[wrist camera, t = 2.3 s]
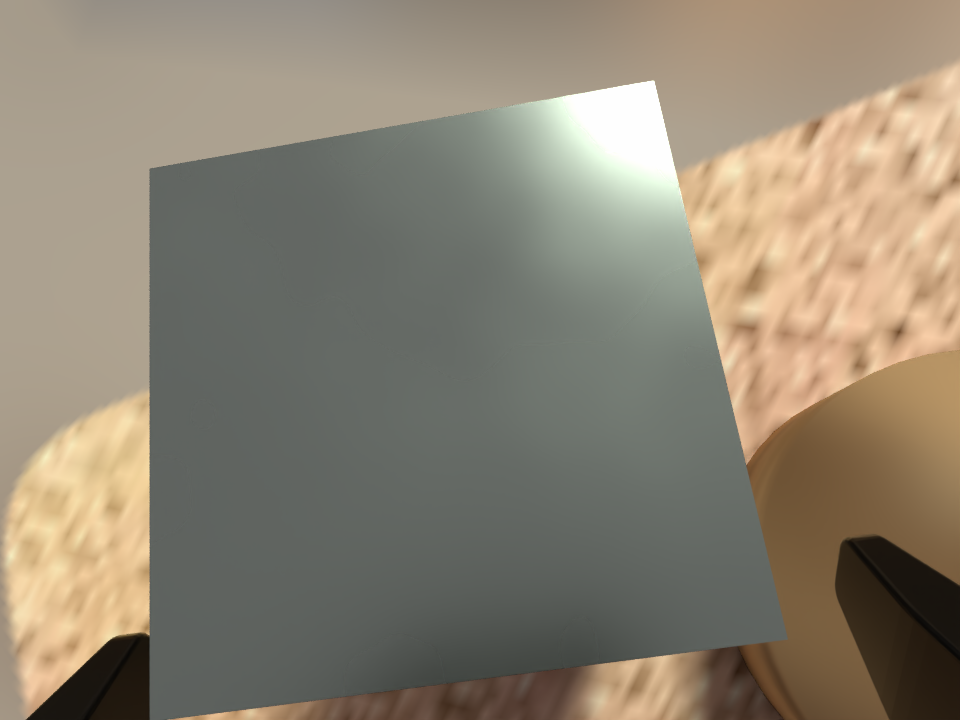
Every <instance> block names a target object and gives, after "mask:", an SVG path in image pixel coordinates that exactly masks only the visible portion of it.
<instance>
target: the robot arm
mask: <svg viewBox="0 0 960 720" xmlns="http://www.w3.org/2000/svg"><path fill="white" fill-rule="evenodd" d="M835 592H836V596H837V600H838V602H839V605H840V607H841V609H842V612H843V614H844V617H845V619H846V621H847V624H848V626H849V628H850V631H851V633H852V635H853V638H854V640H855V642H856V645H857V647H858V649H859V652H860V654H861V656H862V659H863V661H864V663H865V666H866V668H867V670H868V673H869V675H870V677H871V680H872V682H873V684H874V687H875V689H876V691H877V694H878V696H879V698H880V701H881V703H882V705H883V707H884V710H885V712H886V714H887V716H888V718H889V720H960V585H959V584H958V583H956V582H955V581H953V580H951V579H950V578H948V577H947V576H945V575H944V574H942V573H940V572H939V571H937V570H936V569H934V568H932V567H931V566H929V565H928V564H926V563H924V562H923V561H921V560H920V559H918V558H916V557H915V556H913V555H912V554H910V553H908V552H907V551H905V550H904V549H902V548H901V547H899V546H897V545H896V544H894V543H893V542H891V541H889V540H888V539H886V538H884V537H883V536H880V535H878V534H865V535H857V536H850V537H846V538H844V539H843V540H842V541H841V543H840V547H839V553H838V561H837V568H836V575H835ZM26 720H150V636H149V635H148V634H146V633H133V634H126V635H119V636H116V637H114V638H112V639H110V640H109V641H108V642H107V643H106V644H105V645H104V646H103V647H102V648H101V649H99V650H98V651H97V652H96V653H95V654H94V655H93V656H92V657H91V658H90V659H89V660H88V661H87V662H86V663H85V664H84V665H83V666H82V667H81V668H80V669H79V670H77V671H76V672H75V673H74V674H73V675H72V676H71V677H70V678H69V679H68V680H67V681H66V682H65V683H64V684H63V685H62V686H61V687H60V688H59V689H58V690H57V691H55V692H54V693H53V694H52V695H51V696H50V697H49V698H48V699H47V700H46V701H45V702H44V703H43V704H42V705H41V706H40V707H39V708H38V709H37V710H36V711H35V712H34V713H32V714H31V715H30V716H29V717H28V718H27V719H26Z"/></svg>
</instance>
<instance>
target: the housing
mask: <svg viewBox="0 0 960 720" xmlns="http://www.w3.org/2000/svg"><path fill="white" fill-rule="evenodd" d="M780 640H788V637H787V633H786V629H785V625H784V621H783V617H782V613H781V608H780V604H779V600H778V596H777V592H776V588H775V583H774V579H773V575H772V571H771V567H770V563H769V558H768V554H767V550H766V546H765V542H764V538H763V533H762V529H761V525H760V521H759V517H758V513H757V508H756V504H755V500H754V496H753V492H752V488H751V483H750V479H749V475H748V471H747V467H746V463H745V458H744V454H743V450H742V446H741V442H740V438H739V433H738V429H737V425H736V421H735V417H734V413H733V408H732V404H731V400H730V396H729V392H728V388H727V383H726V379H725V375H724V371H723V367H722V363H721V358H720V354H719V350H718V346H717V342H716V338H715V334H714V329H713V325H712V321H711V317H710V313H709V309H708V304H707V300H706V296H705V292H704V288H703V284H702V279H701V275H700V271H699V267H698V263H697V259H696V254H695V250H694V246H693V242H692V238H691V234H690V229H689V225H688V221H687V217H686V213H685V209H684V204H683V200H682V196H681V192H680V188H679V184H678V179H677V175H676V171H675V167H674V163H673V159H672V154H671V150H670V146H669V142H668V138H667V134H666V130H665V126H664V121H663V117H662V113H661V109H660V104H659V100H658V96H657V92H656V88H655V84H654V81H651V82H644V83H639V84H633V85H627V86H621V87H616V88H610V89H604V90H598V91H593V92H588V93H581V94H575V95H570V96H565V97H558V98H552V99H547V100H541V101H535V102H530V103H524V104H518V105H512V106H506V107H501V108H495V109H489V110H484V111H478V112H473V113H466V114H461V115H455V116H449V117H444V118H438V119H432V120H426V121H420V122H415V123H409V124H403V125H398V126H392V127H386V128H380V129H375V130H369V131H363V132H357V133H352V134H346V135H340V136H334V137H329V138H323V139H317V140H311V141H306V142H300V143H294V144H289V145H283V146H277V147H272V148H266V149H260V150H254V151H249V152H243V153H237V154H232V155H225V156H220V157H215V158H208V159H202V160H197V161H191V162H185V163H180V164H174V165H168V166H163V167H157V168H151V169H150V720H168V719H176V718H184V717H191V716H199V715H207V714H215V713H222V712H230V711H238V710H246V709H253V708H261V707H269V706H277V705H284V704H292V703H300V702H308V701H315V700H323V699H331V698H339V697H346V696H354V695H362V694H370V693H377V692H385V691H393V690H401V689H408V688H416V687H424V686H432V685H439V684H447V683H455V682H463V681H470V680H478V679H486V678H494V677H501V676H509V675H517V674H525V673H532V672H540V671H548V670H556V669H563V668H571V667H579V666H587V665H594V664H602V663H610V662H618V661H625V660H633V659H641V658H649V657H656V656H664V655H672V654H680V653H687V652H695V651H703V650H711V649H718V648H726V647H734V646H742V645H749V644H757V643H765V642H773V641H780Z"/></svg>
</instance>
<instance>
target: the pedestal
mask: <svg viewBox="0 0 960 720" xmlns="http://www.w3.org/2000/svg"><path fill="white" fill-rule="evenodd" d="M746 467H747V471H748V475H749V479H750V483H751V488H752V492H753V496H754V500H755V504H756V508H757V513H758V517H759V521H760V525H761V529H762V533H763V538H764V542H765V546H766V550H767V554H768V558H769V563H770V567H771V571H772V575H773V579H774V583H775V588H776V592H777V596H778V600H779V604H780V608H781V613H782V617H783V621H784V625H785V629H786V633H787V637H788V640H780V641H773V642H765V643H757V644H749V645H742V646H738V648H739V650H740V652H741V654H742V656H743V658H744V661H745V663H746V665H747V667H748V669H749V671H750V673H751V674H752V676H753V677H754V679H755V681H756V682H757V684H758V685H759V687H760V689H761V690H762V692H763V693H764V695H765V696H766V698H767V699H768V700H769V701H770V703H771V704H772V705H773V706H774V708H775V709H776V710H777V711H778V713H779V714H780V715H781V716H782V718H783V719H784V720H889V718H888V716H887V714H886V712H885V710H884V707H883V705H882V703H881V701H880V698H879V696H878V694H877V691H876V689H875V687H874V684H873V682H872V680H871V677H870V675H869V673H868V670H867V668H866V666H865V663H864V661H863V659H862V656H861V654H860V652H859V649H858V647H857V645H856V642H855V640H854V638H853V635H852V633H851V631H850V628H849V626H848V624H847V621H846V619H845V617H844V614H843V612H842V609H841V607H840V605H839V602H838V600H837V596H836V592H835V575H836V568H837V561H838V553H839V547H840V543H841V541H842V540H843V539H844V538H846V537H850V536H857V535H865V534H878V535H880V536H883V537H884V538H886V539H888V540H889V541H891V542H893V543H894V544H896V545H897V546H899V547H901V548H902V549H904V550H905V551H907V552H908V553H910V554H912V555H913V556H915V557H916V558H918V559H920V560H921V561H923V562H924V563H926V564H928V565H929V566H931V567H932V568H934V569H936V570H937V571H939V572H940V573H942V574H944V575H945V576H947V577H948V578H950V579H951V580H953V581H955V582H956V583H958V584H959V585H960V350H957V351H949V352H942V353H935V354H928V355H924V356H920V357H917V358H913V359H909V360H905V361H902V362H898V363H896V364H894V365H891V366H889V367H887V368H884V369H882V370H879V371H877V372H875V373H872V374H870V375H868V376H867V377H865V378H863V379H861V380H859V381H857V382H855V383H853V384H851V385H850V386H848V387H846V388H844V389H842V390H840V391H838V392H836V393H834V394H832V395H831V396H829V397H827V398H825V399H823V400H821V401H819V402H817V403H815V404H814V405H812V406H810V407H808V408H807V409H805V410H803V411H802V412H800V413H798V414H797V415H795V416H793V417H792V418H791V419H789V420H788V421H787V422H786V423H784V424H783V425H782V426H781V427H779V428H778V429H777V430H776V431H774V432H773V433H772V434H771V436H770V437H769V438H768V439H767V440H766V441H765V442H764V443H763V444H762V445H761V446H760V447H759V448H758V450H757V451H756V452H755V454H754V455H753V457H752V458H751V460H750V461H749V463H748V464H747V465H746Z"/></svg>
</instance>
